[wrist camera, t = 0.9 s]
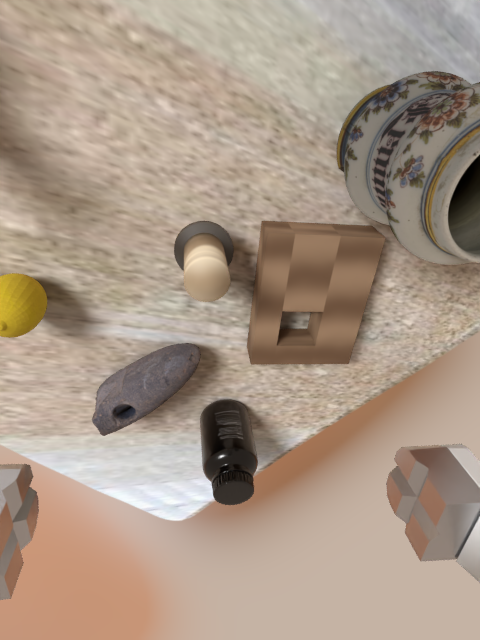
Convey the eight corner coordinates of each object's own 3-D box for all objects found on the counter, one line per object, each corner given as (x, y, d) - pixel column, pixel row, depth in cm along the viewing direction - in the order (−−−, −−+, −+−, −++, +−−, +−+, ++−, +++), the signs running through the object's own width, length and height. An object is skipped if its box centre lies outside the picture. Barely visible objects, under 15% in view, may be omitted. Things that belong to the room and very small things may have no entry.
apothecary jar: (299, 141, 37) (378, 196, 22) (410, 35, 34) (594, 13, 19) (367, 229, 43) (466, 320, 28) (468, 146, 39) (644, 199, 24)
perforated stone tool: (187, 322, 46) (187, 359, 41) (211, 351, 49) (215, 390, 43) (86, 379, 49) (73, 422, 43) (114, 404, 52) (106, 447, 46)
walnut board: (261, 220, 41) (267, 233, 38) (371, 225, 43) (385, 238, 40) (247, 346, 49) (250, 364, 46) (339, 346, 51) (348, 363, 48)
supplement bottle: (190, 421, 55) (191, 500, 45) (219, 390, 53) (227, 467, 43) (229, 438, 58) (238, 516, 48) (258, 409, 56) (275, 485, 46)
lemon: (67, 290, 42) (45, 333, 36) (28, 316, 44) (0, 362, 37) (26, 250, 40) (-5, 288, 33) (-14, 278, 41) (-53, 321, 34)
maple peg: (174, 208, 39) (172, 248, 31) (231, 211, 40) (244, 251, 32) (174, 261, 42) (172, 310, 34) (227, 262, 43) (238, 311, 35)
